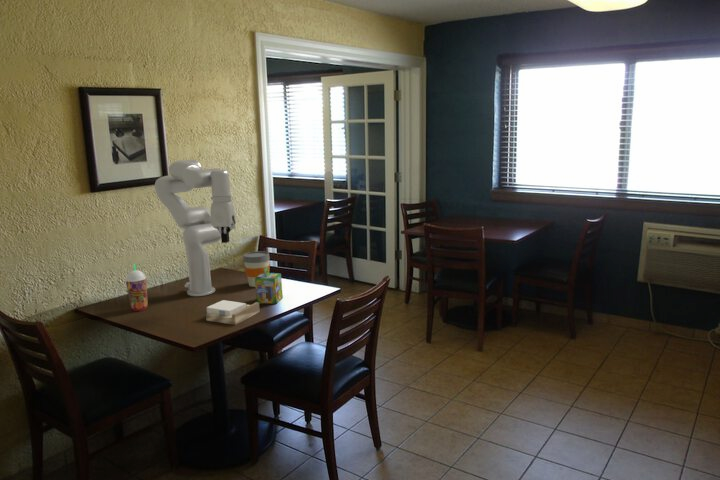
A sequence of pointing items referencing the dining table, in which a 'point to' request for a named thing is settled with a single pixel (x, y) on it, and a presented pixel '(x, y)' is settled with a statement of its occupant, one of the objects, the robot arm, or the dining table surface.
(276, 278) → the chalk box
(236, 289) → the dining table surface
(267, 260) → the reusable coffee cup
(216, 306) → the carton
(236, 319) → the open wooden frame
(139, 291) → the smoothie
